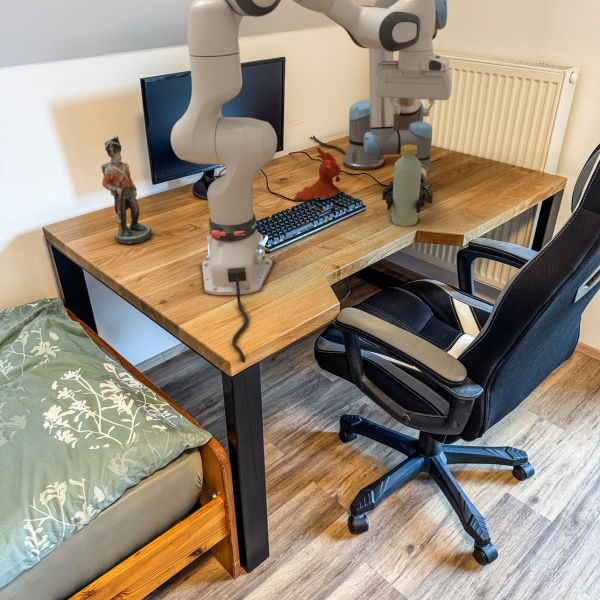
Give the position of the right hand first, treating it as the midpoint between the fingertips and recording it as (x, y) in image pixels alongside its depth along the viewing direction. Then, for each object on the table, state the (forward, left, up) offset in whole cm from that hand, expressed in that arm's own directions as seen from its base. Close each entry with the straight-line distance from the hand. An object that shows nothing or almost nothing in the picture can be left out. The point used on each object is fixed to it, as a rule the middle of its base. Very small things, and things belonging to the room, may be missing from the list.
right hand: (403, 207), depth 164 cm
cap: (-4, +2, +16) cm, 17 cm away
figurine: (-10, -80, -6) cm, 81 cm away
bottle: (-4, +2, -6) cm, 8 cm away
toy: (-31, -20, -6) cm, 38 cm away
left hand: (-4, +2, +25) cm, 26 cm away
